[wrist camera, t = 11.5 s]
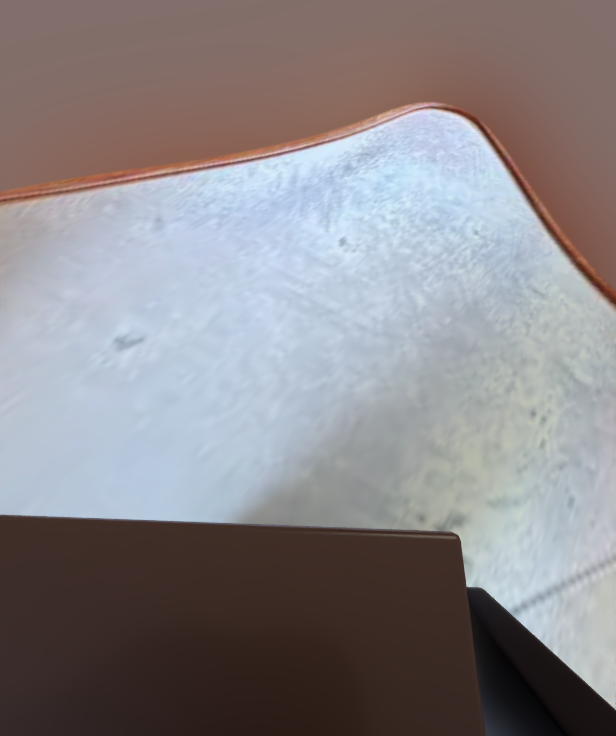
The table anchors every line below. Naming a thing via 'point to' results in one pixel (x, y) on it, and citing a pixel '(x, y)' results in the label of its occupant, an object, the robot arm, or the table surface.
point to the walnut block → (232, 630)
